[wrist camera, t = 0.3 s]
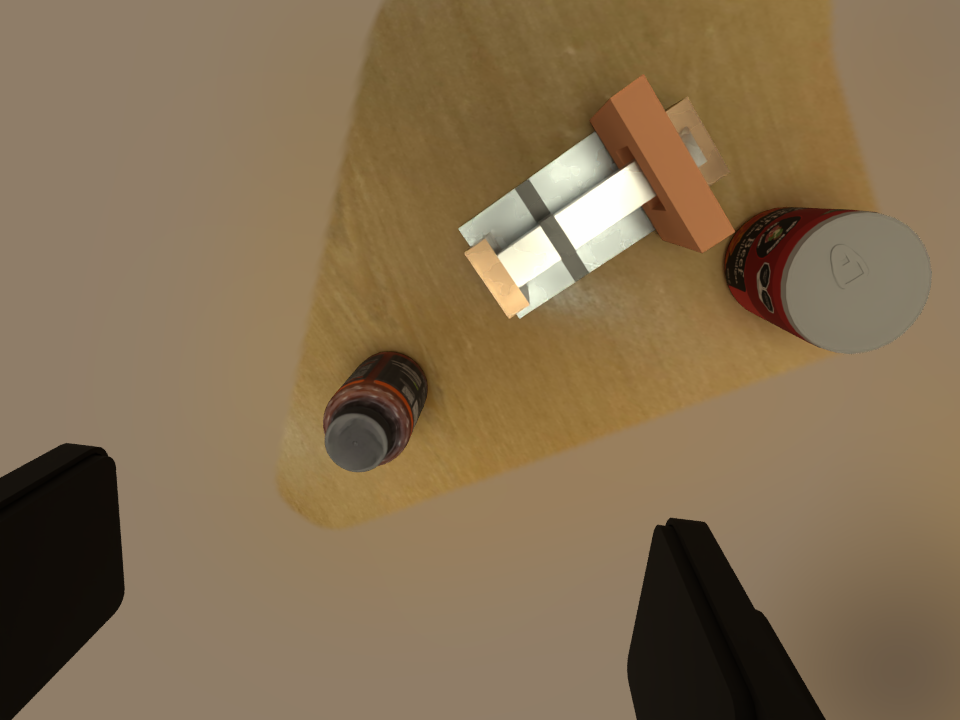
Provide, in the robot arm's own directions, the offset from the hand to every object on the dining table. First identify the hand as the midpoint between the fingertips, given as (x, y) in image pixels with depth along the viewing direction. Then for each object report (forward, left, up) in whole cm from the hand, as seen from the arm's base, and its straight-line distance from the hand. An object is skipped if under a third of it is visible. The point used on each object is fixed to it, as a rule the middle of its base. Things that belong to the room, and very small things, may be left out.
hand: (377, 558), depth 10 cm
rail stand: (0, +8, -36) cm, 37 cm away
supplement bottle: (+3, -11, -36) cm, 38 cm away
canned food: (+11, +18, -36) cm, 42 cm away
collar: (0, +13, -35) cm, 37 cm away
